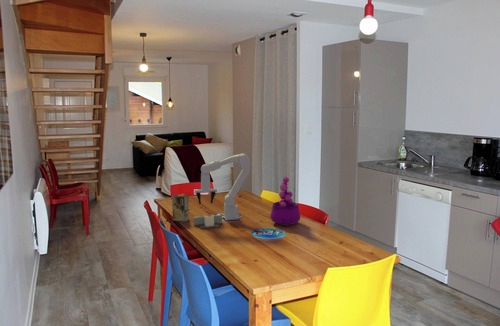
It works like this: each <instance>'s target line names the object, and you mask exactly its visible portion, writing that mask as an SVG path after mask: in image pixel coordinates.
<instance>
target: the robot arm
mask: <svg viewBox="0 0 500 326" xmlns="http://www.w3.org/2000/svg"><path fill="white" fill-rule="evenodd" d="M250 161H251V160H250V159H249V157H248V155H247V154H246V153H244V152H243V153H242V152H241V153H239V154H235V155H231V156H229V157H226V158H225V159H222V160H219V159H214V160H213V161H211V162H207V163H205V164H202V165H201V167H200V171H201V173H200V189H194V191H193V192H194V194H196V196H197V199H198V204H199V205H201V204H202V203H201V202H202V200H201V196H202V194H203V193H204V194H205V193H206V194H207V193H210V204H213V202H214V198H215V196H216V193H218V189H217V188H211V175H210V172H214V171H217V170H220V169H221V168H222V166H225V165H228V164H232V163H237V164H240V166H241V171H240V173H239V174H238V175H237V178H236V179H235V181H234V184H233V185H232V186H231V189H230V190H229V191H228V193H227V194H226V195H225V196H224V204H223V216H224V218H225V220H224V221H232V220H233V221H234V220H240V218H239V215H240V212H239V211H240V210H239V205H238V204H235V200H236V198H237V194H238V193H239V191H240V189H241V188H242V186H243V184H244V182H245V180H246V179H247V177H248V175H249V173H250V171H251V165H250V164H251V162H250Z"/></svg>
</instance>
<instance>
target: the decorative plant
mask: <svg viewBox="0 0 500 326" xmlns="http://www.w3.org/2000/svg"><path fill="white" fill-rule="evenodd" d="M289 182H290V178H289V177H288V176H283V178H282V183H281V185H280V186H279V190H281V191H280V192H279V193H278V196H279V198H280V200H279V201H275V202H273V203H272V208H271V211H270V217H269V218H270V219H271V220H272V222H273V223H275V224H278V225H283V226H290V225H294V224H297V223H298V222H299V221H301V212H300V208H299V204H298V203H297V202H294V201H293V198H292V197H293V192H292V191H290V190H289V191H288V187H289V186H288V183H289Z"/></svg>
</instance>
